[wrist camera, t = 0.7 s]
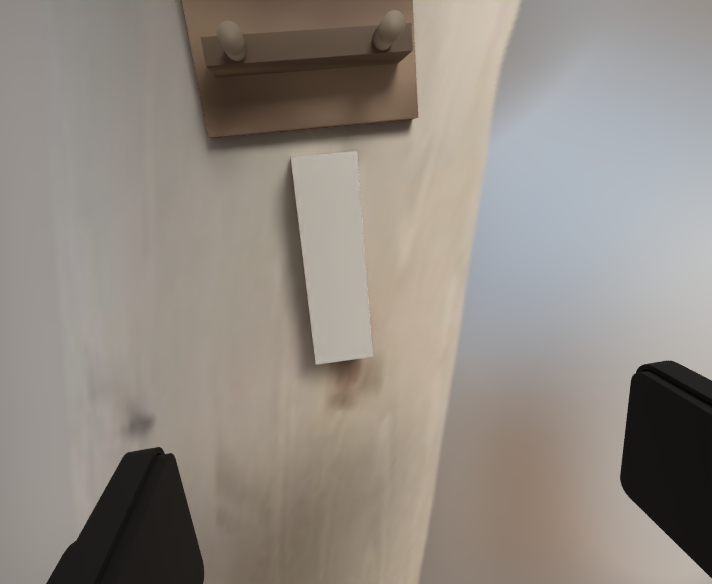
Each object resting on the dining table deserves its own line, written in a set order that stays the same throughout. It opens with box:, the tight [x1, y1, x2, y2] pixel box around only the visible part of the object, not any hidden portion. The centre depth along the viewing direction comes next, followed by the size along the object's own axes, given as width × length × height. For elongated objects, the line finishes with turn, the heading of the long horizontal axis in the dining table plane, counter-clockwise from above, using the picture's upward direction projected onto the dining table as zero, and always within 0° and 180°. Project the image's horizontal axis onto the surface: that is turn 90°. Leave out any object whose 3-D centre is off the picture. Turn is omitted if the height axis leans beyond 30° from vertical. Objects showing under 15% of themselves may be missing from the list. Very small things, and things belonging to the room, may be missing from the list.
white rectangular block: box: [291, 151, 373, 365], centre depth 26 cm, size 12×4×4 cm, turn 5°
